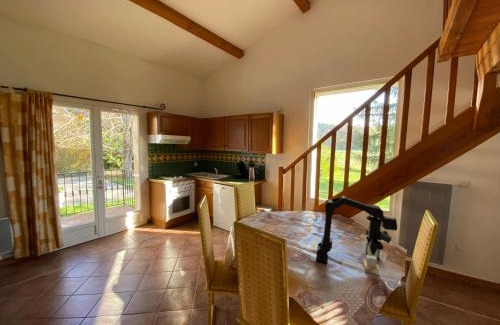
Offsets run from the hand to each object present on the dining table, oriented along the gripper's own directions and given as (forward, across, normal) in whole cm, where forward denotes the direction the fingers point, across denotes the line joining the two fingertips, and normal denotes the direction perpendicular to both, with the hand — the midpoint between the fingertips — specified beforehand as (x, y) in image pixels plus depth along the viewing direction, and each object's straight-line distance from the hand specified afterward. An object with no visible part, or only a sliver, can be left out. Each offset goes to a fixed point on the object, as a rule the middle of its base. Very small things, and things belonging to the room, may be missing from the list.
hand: (372, 252), depth 125 cm
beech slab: (+11, 0, 0) cm, 11 cm away
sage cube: (+1, 0, 0) cm, 1 cm away
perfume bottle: (+11, +19, -4) cm, 22 cm away
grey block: (+7, 0, 0) cm, 7 cm away
